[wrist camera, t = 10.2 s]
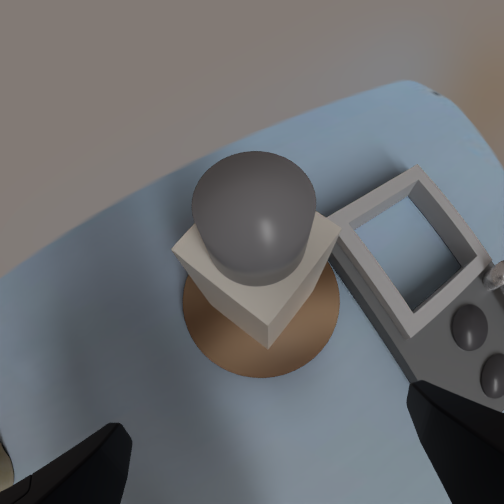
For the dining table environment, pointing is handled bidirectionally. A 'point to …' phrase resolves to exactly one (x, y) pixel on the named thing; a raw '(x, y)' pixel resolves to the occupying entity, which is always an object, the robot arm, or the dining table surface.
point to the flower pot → (5, 470)
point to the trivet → (252, 352)
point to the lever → (494, 277)
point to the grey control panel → (435, 306)
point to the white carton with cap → (256, 241)
